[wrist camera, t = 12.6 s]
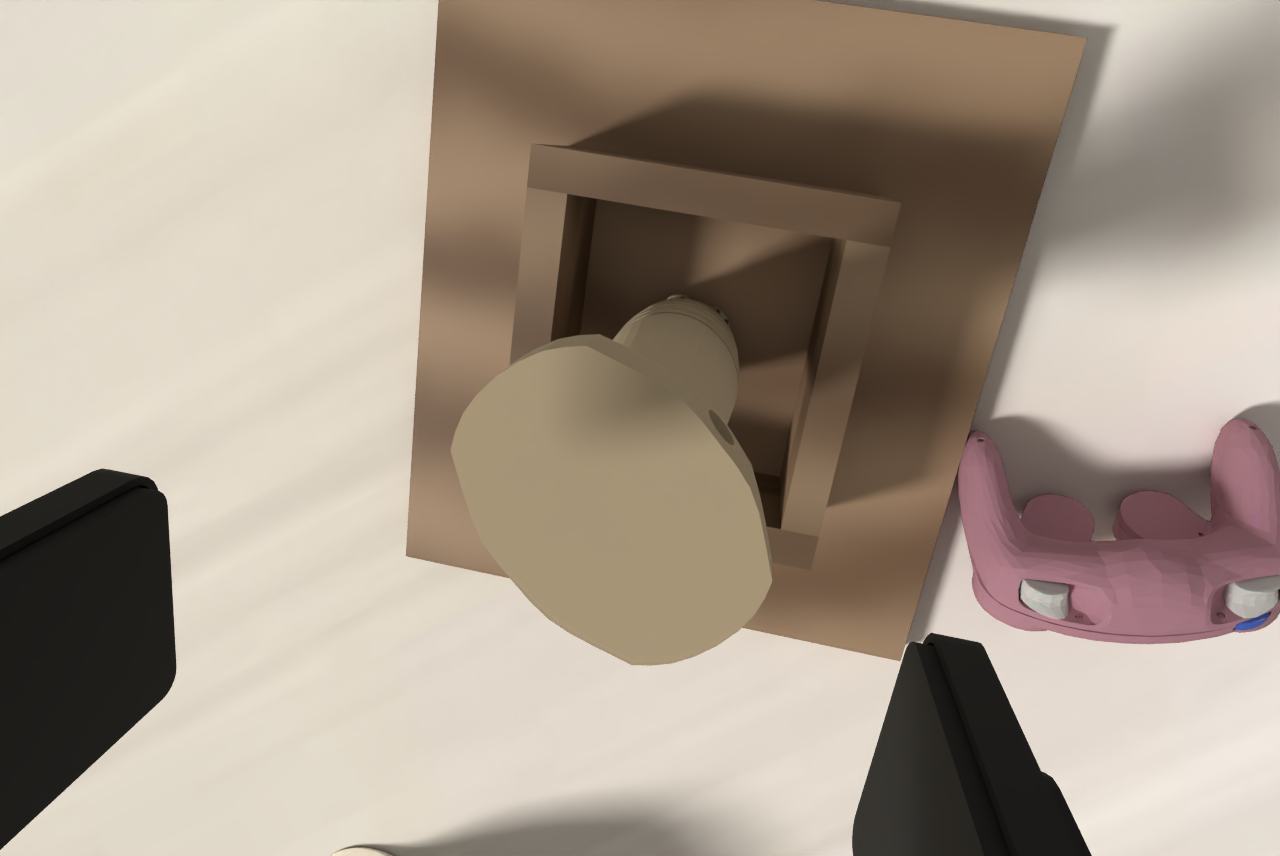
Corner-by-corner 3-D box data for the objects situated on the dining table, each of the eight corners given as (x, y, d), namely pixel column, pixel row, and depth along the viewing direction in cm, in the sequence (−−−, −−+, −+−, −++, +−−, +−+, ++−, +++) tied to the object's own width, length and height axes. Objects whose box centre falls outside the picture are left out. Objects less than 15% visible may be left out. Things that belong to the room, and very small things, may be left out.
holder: (453, -45, 27) (378, -92, 22) (1075, 42, 25) (1154, 12, 20) (416, 545, 34) (353, 613, 29) (896, 646, 32) (920, 739, 27)
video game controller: (940, 502, 32) (976, 665, 27) (952, 419, 29) (996, 585, 24) (1219, 493, 30) (1313, 665, 25) (1265, 403, 27) (1381, 579, 22)
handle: (687, 220, 28) (602, 293, 13) (798, 369, 29) (826, 582, 15) (579, 305, 29) (400, 450, 15) (688, 445, 30) (617, 702, 16)
